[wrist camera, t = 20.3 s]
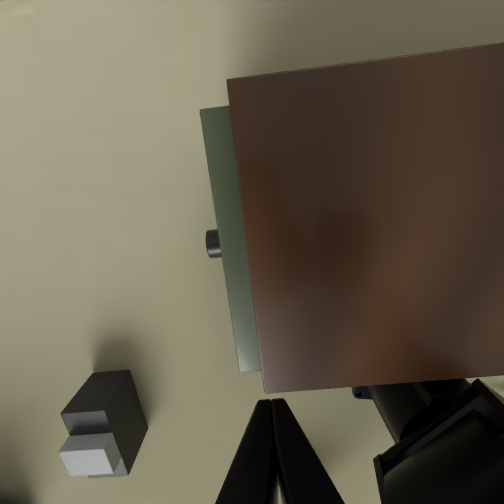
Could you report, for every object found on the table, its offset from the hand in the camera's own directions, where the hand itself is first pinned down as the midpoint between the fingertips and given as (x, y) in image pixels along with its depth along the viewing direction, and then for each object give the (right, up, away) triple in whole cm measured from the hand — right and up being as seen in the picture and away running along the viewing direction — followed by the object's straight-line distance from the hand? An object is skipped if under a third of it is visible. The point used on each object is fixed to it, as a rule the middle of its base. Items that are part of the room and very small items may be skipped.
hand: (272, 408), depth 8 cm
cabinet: (+8, +8, +10) cm, 15 cm away
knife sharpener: (-13, -9, +15) cm, 22 cm away
